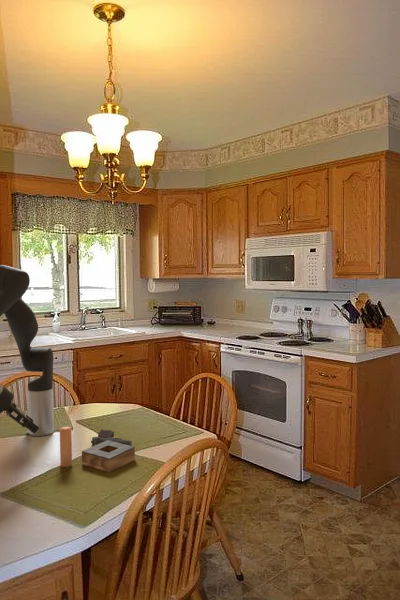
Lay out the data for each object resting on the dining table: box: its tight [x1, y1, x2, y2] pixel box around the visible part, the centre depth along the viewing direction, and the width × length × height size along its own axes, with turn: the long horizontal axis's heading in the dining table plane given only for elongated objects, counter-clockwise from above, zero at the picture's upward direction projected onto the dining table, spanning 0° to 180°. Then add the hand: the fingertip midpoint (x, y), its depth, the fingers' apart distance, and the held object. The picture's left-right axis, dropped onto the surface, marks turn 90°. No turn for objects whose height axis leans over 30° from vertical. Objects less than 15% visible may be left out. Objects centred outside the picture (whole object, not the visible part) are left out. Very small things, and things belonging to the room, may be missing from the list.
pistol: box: [90, 428, 133, 446], centre depth 179 cm, size 3×15×12 cm
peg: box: [59, 426, 73, 468], centre depth 157 cm, size 4×4×12 cm
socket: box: [81, 440, 136, 473], centre depth 159 cm, size 12×12×4 cm
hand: (34, 426), depth 151 cm, fingers open, 8 cm apart
